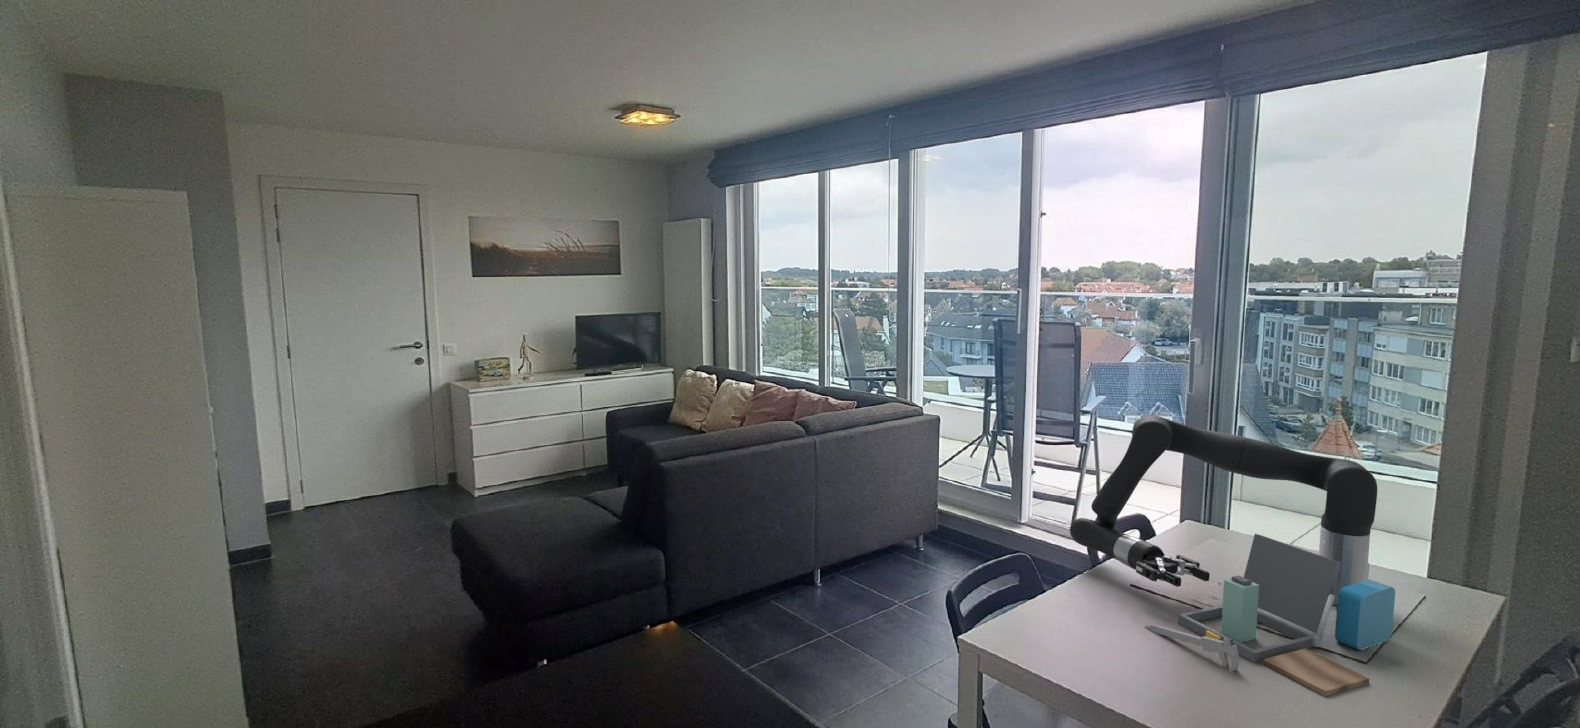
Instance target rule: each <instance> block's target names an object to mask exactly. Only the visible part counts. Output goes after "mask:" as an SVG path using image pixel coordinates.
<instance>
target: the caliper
mask: <svg viewBox="0 0 1580 728" xmlns="http://www.w3.org/2000/svg"><path fill="white" fill-rule="evenodd" d="M1144 628H1145V629H1149V631H1151V632H1154V633H1156V634H1158V635H1162V636H1165V637H1169V638H1172V639H1176V640H1179V641H1183V642H1186V643H1189V644H1193V645H1197V646H1200V647H1201V648H1202V651H1203V652H1209V653H1218V658H1220V661H1221V664H1222V666H1223V667H1224V668H1226V669H1227V668H1229V667H1230V664H1231V671H1233V672H1235V671H1237V670H1239V662H1240V655H1239V654H1238V649H1237V645H1234V643H1233V640H1234V639H1232V638H1231V639H1230V640H1228V638H1227V637H1228V636H1227V637H1225V638H1223V640H1224V641H1221V640H1217V639H1213V638H1209V637H1205V636H1197V635H1194V634H1190V633H1187V632H1184V631H1180V630H1176V629H1174V628H1170V627H1165V626H1163V625H1160V624H1159V625H1158V624H1155V623H1152V624H1148V625H1145V626H1144ZM1229 659H1230V661H1229Z"/></svg>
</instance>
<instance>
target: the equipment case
mask: <svg viewBox="0 0 1580 728" xmlns="http://www.w3.org/2000/svg"><path fill="white" fill-rule="evenodd" d="M1252 539H1253V540H1252V542H1251V548H1250V551H1249V555H1248V559H1247V563H1246V566H1245V570H1244V574H1243V577H1244V578H1246V579H1249V580H1251V581H1252V582H1253V583H1256V584H1258V585H1259V595H1258V610H1257V623H1261V624H1263V625H1265V626H1267V627H1269V628H1271V629H1274V630H1276V631H1278V632H1279V633H1282V634H1284V633H1285V634H1284V635H1286V634H1287V636H1288V635H1289V637H1290V638H1293V637H1294V638H1293V639H1291V640H1287V641H1283V642H1279V643H1278V642H1277V643H1275V644H1271V645H1267V646H1264V647H1259V648H1255V649H1253V648H1251V647H1249V646H1247V645H1246V644H1243V643H1242V642H1241V643H1240V642H1238V641H1236V640H1234V639H1233V643H1234V645H1237V649H1238V654H1239V656H1241V657H1242V658H1245V659H1247V660H1249V661H1251V662H1252V663H1258V662H1261V661H1262V662H1263V659H1266V658H1270V657H1274V656H1277V655H1281V654H1285V653H1289V652H1293V651H1297V650H1301V649H1304V648H1306V649H1308V650H1309V649H1311V648H1320V647H1322V646H1323V636H1324V632H1325V629H1326V626H1327V622H1328V618H1329V615H1330V612H1331V610H1332V606H1333V600H1334V595H1333V593H1334V589H1335V585H1336V582H1337V578H1338V574H1339V570H1340V566H1341V562H1338V561H1335V560H1332V559H1329V558H1326V557H1324V556H1321V555H1319V553H1318V554H1317V553H1314V552H1312V551H1308V550H1305V549H1303V548H1300V547H1296V546H1294V545H1290V544H1288V543H1286V542H1282V541H1279V540H1276V539H1273V538H1271V537H1268V536H1264V535H1262V534H1259V533H1254V535H1253V538H1252ZM1222 607H1223V604H1219V605H1215V606H1211V607H1206V608H1201V609H1196V610H1194V611H1192V610H1191V611H1187V612H1184V613H1183V612H1182V613H1178V617H1177V618H1178V619H1177V620H1178V621H1177V623H1178V624H1180V625H1181V626H1183V627H1185V628H1187V629H1189V630H1191V631H1192V632H1195V633H1196V632H1197V634H1199V635H1200V636H1201V637H1203V636H1205V637H1209V638H1213V639H1217V640H1221V641H1224V640H1223V638H1225V637H1227V638H1228V640H1230V639H1232V638H1230V637H1228V636H1226V635H1224V634H1222V633H1221V632H1219V631H1217V630H1215V629H1213V628H1212V627H1209V626H1208V625H1206V624H1203V623H1202V622H1201V621H1205V620H1209V619H1213V618H1217V617H1218V618H1219V617H1222Z"/></svg>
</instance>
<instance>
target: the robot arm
mask: <svg viewBox="0 0 1580 728" xmlns="http://www.w3.org/2000/svg"><path fill="white" fill-rule="evenodd" d="M1166 451H1168V452H1173V453H1179V454H1183V455H1187V456H1190V457H1193V458H1195V459H1197V460H1200V461H1202V462H1204V463H1206V464H1208V465H1210V466H1213V467H1216V468H1218V469H1220V470H1222V471H1226V472H1230V473H1233V474H1237V475H1241V476H1245V477H1249V478H1254V479H1261V480H1272V481H1273V480H1274V481H1288V482H1289V481H1290V482H1296V483H1299V484H1302V485H1303V484H1304V485H1307V486H1310V487H1314V488H1317V489H1320V490H1322V491H1325V492H1326V499H1325V508H1324V512H1323V514H1322V515H1321V519H1320V531H1319V532H1320V534H1319V544H1318V545H1319V547H1318V548H1319V549H1318V555H1321V556H1324V557H1326V558H1329V559H1332V560H1335V561H1338V562H1341V566H1340V570H1339V574H1338V578H1337V582H1336V585H1335V589H1334V593H1333V595H1334V600H1333V604H1332V606H1333V605H1334V606H1337V601H1338V593H1339V591H1340V589H1341V588H1342V587H1345V586H1349V585H1352V584H1355V583H1359V582H1362V581H1365V580H1369V575H1370V574H1369V573H1370V563H1369V553H1370V552H1369V551H1370V538H1371V529H1372V526H1373V525H1374V522H1375V517H1376V508H1377V499H1378V483H1377V480H1376V478H1375V476H1374V475H1373V474H1372V473H1371V472H1370V471H1369V470H1368V469H1366V467H1365V466H1363V465H1361V464H1360V463H1358V462H1356V461H1354V460H1349V459H1345V458H1344V459H1343V458H1337V457H1329V456H1328V457H1327V456H1324V455H1323V456H1321V455H1315V454H1309V453H1303V452H1301V451H1297V450H1293V449H1290V448H1287V447H1283V446H1280V445H1277V444H1273V443H1269V442H1266V441H1262V440H1260V439H1259V440H1258V439H1255V438H1250V437H1246V436H1245V437H1244V436H1241V435H1235V434H1232V433H1231V434H1229V433H1226V432H1225V433H1224V432H1221V431H1214V430H1208V429H1202V428H1197V427H1193V426H1189V425H1186V424H1182V423H1180V422H1177V421H1173V420H1171V419H1168V418H1166V417H1162V416H1160V415H1153V414H1152V415H1149V414H1148V415H1144V416H1141V417H1139V418H1138V419H1137V420H1136V421H1135V422H1134V424H1133V426H1132V433H1131V439H1130V441H1129V445H1128V448H1127V449H1126V452H1125V454H1124V455H1123V457H1122V458H1121V459H1122V460H1121V461H1120V462H1119V464H1118V465H1117V466H1116V468H1115V470H1114V471H1112V472H1111V474H1110V475H1109V477H1108V478H1107V479H1106V480H1105V482H1104V483H1103V484H1102V486H1101V488H1100V489H1099V491H1098V493H1097V494H1096V496H1095V498H1094V499H1093V501H1092V503H1091V505H1090V506H1091V510H1092V511H1093V512H1094V513H1095V515H1097V516H1096V518H1095V520H1094V519H1090V518H1085V517H1080V518H1077V519H1075V520H1073V521H1072V522H1071V524H1070V525H1069V534H1070V536H1071V538H1072V540H1073V541H1074V542H1075V543H1077V544H1078V545H1081V546H1082V547H1083V546H1084V547H1085V548H1088V549H1091V550H1094V551H1097V552H1101V553H1103V554H1104V555H1106V556H1108V557H1110V558H1112V559H1114V560H1116V561H1118V562H1120V563H1121V564H1122V565H1124V566H1126V567H1129V568H1130V569H1133V570H1135V573H1136V574H1139V575H1141V576H1142V577H1144V578H1145V579H1147V580H1149V581H1151V582H1157V581H1158V580H1159V582H1160V581H1161V582H1166V583H1168V584H1171V585H1172V586H1174V587H1177V588H1179V587H1181V586H1182V577H1181V576H1185V575H1187V576H1192V577H1194V578H1196V579H1199V580H1201V581H1204V582H1208V581H1210V572H1208V571H1207V570H1204V569H1202V568H1201V562H1198V561H1196V560H1193V559H1191V558H1188V557H1186V556H1183V555H1181V554H1176V557H1175V558H1174V557H1172V556H1169V555H1165V553H1164V552H1163V549H1162V548H1160V547H1159V546H1157V545H1155V544H1152V543H1150V542H1148V541H1146V540H1143V539H1141V538H1139V537H1135V536H1132V535H1129V534H1127V533H1124V532H1121V531H1120V530H1116V529H1115V528H1116V524H1117V520H1118V517H1119V515H1120V514H1121V512H1122V511H1123V509H1124V507H1125V506H1126V504H1127V503H1128V501H1129V499H1130V498H1131V496H1132V494H1133V493H1134V492H1135V489H1136V488H1137V486H1138V484H1139V483H1140V481H1141V480H1142V478H1143V477H1144V476H1145V474H1146V473H1147V472H1148V470H1149V469H1150V468H1151V467H1152V466H1153V464H1154V463H1155V462H1156V461H1157V460H1158V459H1159V458H1160V457H1161V456H1162V455H1163V454H1164V453H1165V452H1166ZM1179 568H1180V570H1178V569H1179Z"/></svg>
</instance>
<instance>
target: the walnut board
mask: <svg viewBox="0 0 1580 728" xmlns="http://www.w3.org/2000/svg"><path fill="white" fill-rule="evenodd" d="M1262 665H1264V666H1266V667H1267V668H1269V669H1271V670H1273V671H1275V672H1276V673H1279V674H1281V675H1283V676H1285V677H1287V678H1289V679H1290V680H1293V681H1294V682H1296V683H1297V684H1300V685H1302V686H1304V687H1306V688H1307V689H1311V690H1312V691H1314V692H1315V693H1317V694H1319V695H1321V696H1324V697H1327V696H1331V695H1334V694H1339V693H1341V692H1345V691H1348V690H1351V689H1355V688H1359V687H1361V685H1362V686H1364V685H1368V684H1370V678H1369V677H1367V676H1365V675H1363V674H1361V673H1359V672H1356V671H1355V670H1352V669H1351V668H1348V667H1346V666H1344V665H1342V664H1339V663H1338V662H1335V661H1333V660H1331V659H1329V658H1327V657H1325V656H1322V655H1320V654H1318V653H1316V652H1314V651H1312V650H1309V648H1308V649H1306V648H1304V649H1301V650H1297V651H1293V652H1289V653H1285V654H1281V655H1277V656H1274V657H1270V658H1266V659H1263V660H1262ZM1367 683H1368V684H1367Z"/></svg>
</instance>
